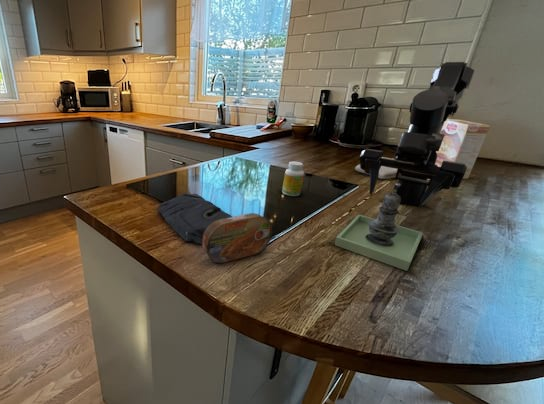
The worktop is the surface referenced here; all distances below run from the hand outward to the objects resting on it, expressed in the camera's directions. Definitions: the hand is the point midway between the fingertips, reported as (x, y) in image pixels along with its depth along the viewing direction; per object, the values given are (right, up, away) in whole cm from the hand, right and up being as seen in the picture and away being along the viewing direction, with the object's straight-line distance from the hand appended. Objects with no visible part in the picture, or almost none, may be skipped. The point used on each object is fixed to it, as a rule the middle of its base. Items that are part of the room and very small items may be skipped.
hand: (394, 199), depth 64 cm
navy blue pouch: (-42, -5, +10) cm, 44 cm away
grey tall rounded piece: (-2, -9, +1) cm, 10 cm away
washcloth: (+31, +10, +49) cm, 59 cm away
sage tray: (-3, -10, +1) cm, 10 cm away
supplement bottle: (-12, +2, +28) cm, 31 cm away
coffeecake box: (+57, +11, +52) cm, 78 cm away
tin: (-35, -12, -4) cm, 37 cm away
